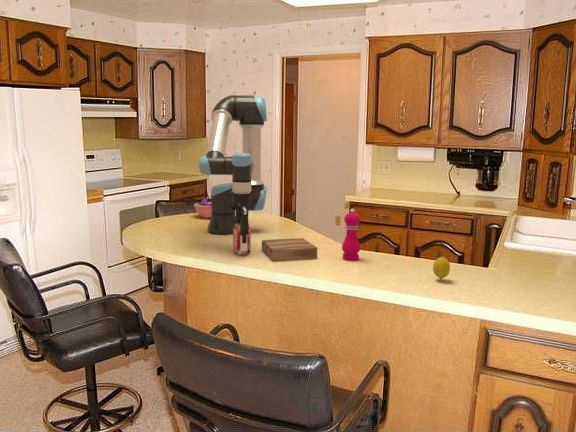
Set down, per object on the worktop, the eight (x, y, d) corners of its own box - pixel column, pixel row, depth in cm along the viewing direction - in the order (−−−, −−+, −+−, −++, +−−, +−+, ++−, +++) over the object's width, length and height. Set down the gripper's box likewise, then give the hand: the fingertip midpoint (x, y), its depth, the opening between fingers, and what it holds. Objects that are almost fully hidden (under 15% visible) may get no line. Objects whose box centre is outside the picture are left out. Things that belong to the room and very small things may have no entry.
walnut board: (261, 251, 210) (261, 240, 209) (302, 249, 215) (302, 238, 214) (272, 262, 193) (272, 250, 192) (317, 260, 198) (317, 247, 197)
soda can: (247, 256, 200) (247, 226, 198) (230, 255, 201) (230, 225, 199) (252, 252, 207) (252, 223, 205) (236, 251, 208) (236, 222, 206)
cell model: (228, 221, 273) (228, 201, 271) (191, 221, 273) (191, 200, 271) (231, 216, 290) (231, 196, 288) (196, 215, 290) (196, 196, 288)
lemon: (429, 276, 176) (431, 254, 174) (445, 276, 176) (446, 254, 175) (435, 281, 170) (437, 258, 169) (451, 281, 171) (453, 258, 169)
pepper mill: (361, 257, 201) (363, 207, 197) (357, 261, 194) (360, 210, 191) (343, 255, 203) (345, 206, 200) (339, 260, 196) (341, 209, 193)
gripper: (227, 189, 208) (228, 243, 212) (237, 195, 189) (237, 255, 193) (245, 189, 210) (245, 242, 214) (256, 195, 191) (256, 254, 195)
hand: (241, 248), depth 204 cm, fingers closed on soda can, 7 cm apart
